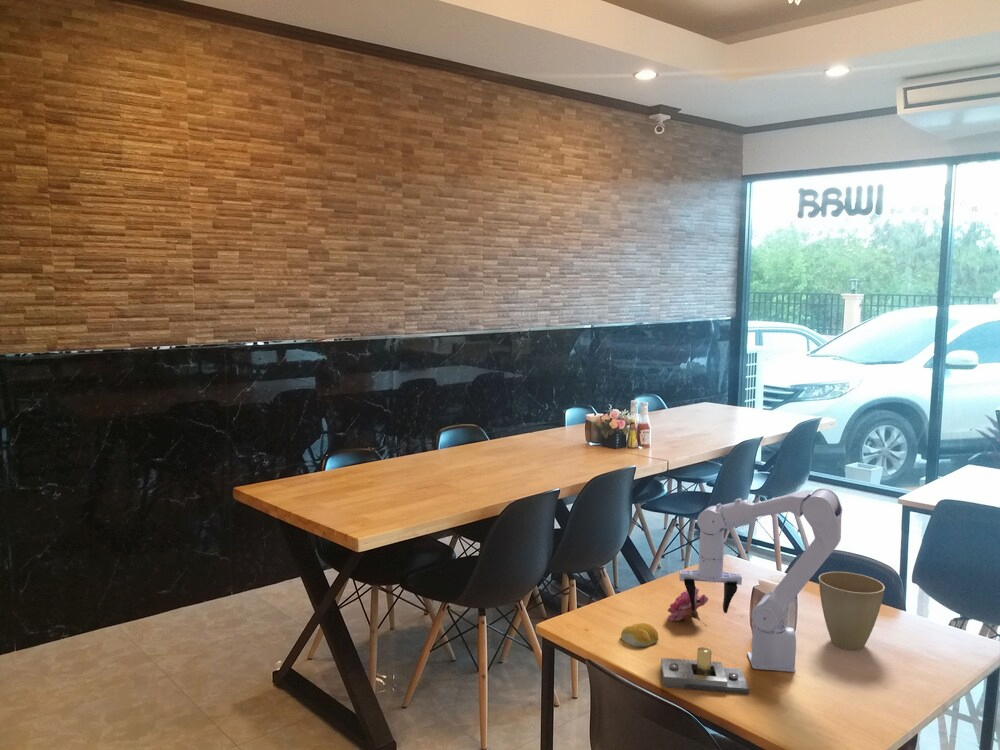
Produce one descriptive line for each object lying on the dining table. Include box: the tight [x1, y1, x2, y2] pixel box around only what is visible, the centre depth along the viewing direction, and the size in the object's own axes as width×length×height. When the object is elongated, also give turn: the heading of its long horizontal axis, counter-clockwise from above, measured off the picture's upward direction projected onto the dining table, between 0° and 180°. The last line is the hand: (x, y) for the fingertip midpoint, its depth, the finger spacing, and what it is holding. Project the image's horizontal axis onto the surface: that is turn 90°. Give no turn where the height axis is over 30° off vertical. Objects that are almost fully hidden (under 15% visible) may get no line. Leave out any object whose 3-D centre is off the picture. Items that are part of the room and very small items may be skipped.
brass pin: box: [696, 646, 712, 676], centre depth 171 cm, size 3×3×7 cm
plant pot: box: [818, 571, 886, 651], centre depth 190 cm, size 15×15×16 cm
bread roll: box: [620, 622, 659, 648], centre depth 192 cm, size 8×9×4 cm
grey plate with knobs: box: [660, 657, 750, 695], centre depth 171 cm, size 18×9×3 cm, turn 82°
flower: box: [667, 587, 709, 627], centre depth 203 cm, size 11×10×10 cm
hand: (708, 610), depth 187 cm, fingers open, 7 cm apart
